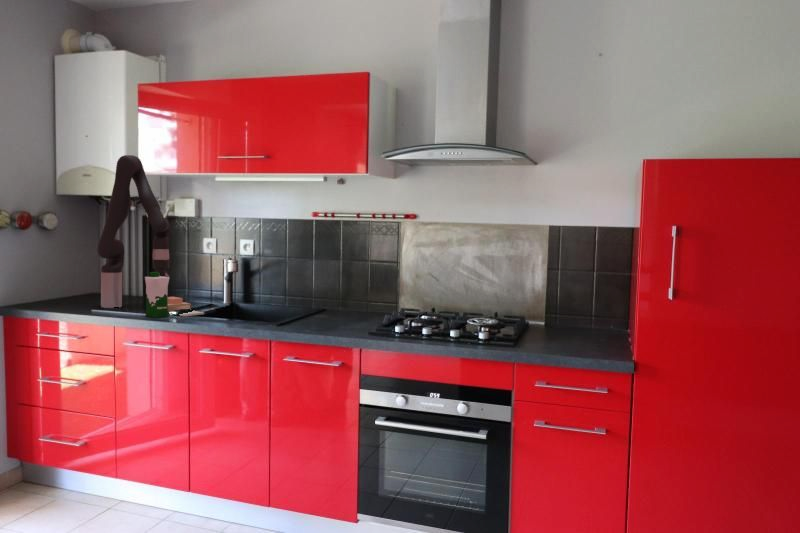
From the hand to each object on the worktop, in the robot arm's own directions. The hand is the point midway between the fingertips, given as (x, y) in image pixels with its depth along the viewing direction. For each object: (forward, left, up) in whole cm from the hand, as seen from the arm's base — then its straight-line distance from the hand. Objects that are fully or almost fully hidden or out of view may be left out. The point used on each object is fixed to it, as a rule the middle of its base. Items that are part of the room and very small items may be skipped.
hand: (161, 294), depth 322 cm
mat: (+21, 0, -8) cm, 22 cm away
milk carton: (+18, -14, -8) cm, 24 cm away
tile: (+9, 0, -4) cm, 10 cm away
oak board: (+9, 0, -8) cm, 12 cm away
